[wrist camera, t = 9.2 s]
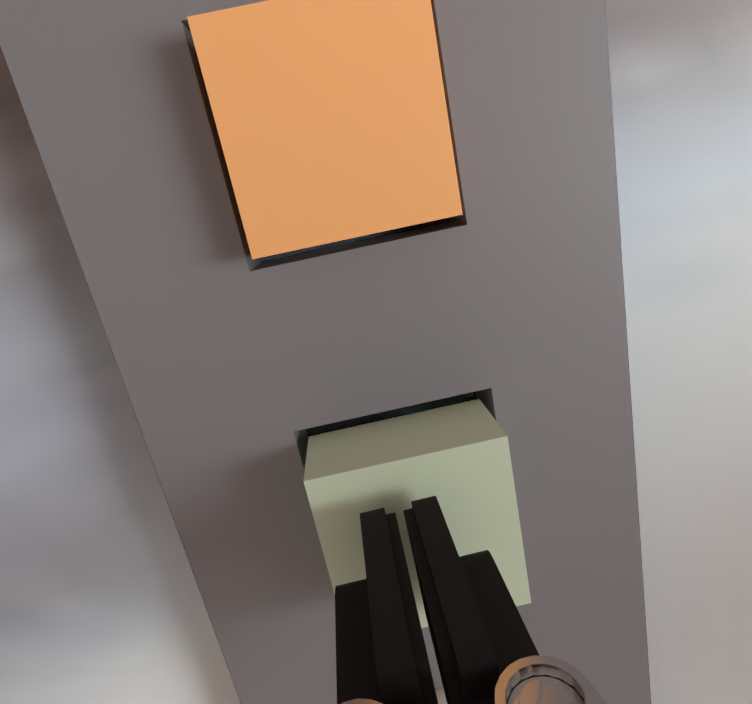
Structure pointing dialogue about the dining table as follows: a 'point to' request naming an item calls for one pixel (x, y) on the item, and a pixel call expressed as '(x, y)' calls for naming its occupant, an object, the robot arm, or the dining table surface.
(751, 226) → the dining table surface
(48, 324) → the dining table surface
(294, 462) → the button panel
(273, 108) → the orange button
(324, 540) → the sage button
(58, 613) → the dining table surface
